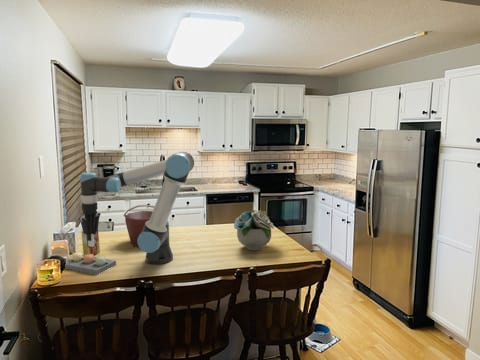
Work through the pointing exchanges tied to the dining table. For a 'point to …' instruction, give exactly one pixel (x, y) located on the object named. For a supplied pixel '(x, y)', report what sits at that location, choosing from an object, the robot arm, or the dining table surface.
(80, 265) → the slate board
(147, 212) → the bucket
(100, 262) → the sage button
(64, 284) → the dining table surface
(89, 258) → the terracotta button
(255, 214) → the flower arrangement
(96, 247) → the candy box
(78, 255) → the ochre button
